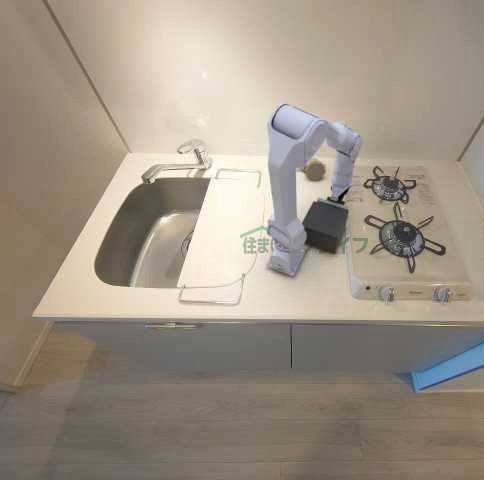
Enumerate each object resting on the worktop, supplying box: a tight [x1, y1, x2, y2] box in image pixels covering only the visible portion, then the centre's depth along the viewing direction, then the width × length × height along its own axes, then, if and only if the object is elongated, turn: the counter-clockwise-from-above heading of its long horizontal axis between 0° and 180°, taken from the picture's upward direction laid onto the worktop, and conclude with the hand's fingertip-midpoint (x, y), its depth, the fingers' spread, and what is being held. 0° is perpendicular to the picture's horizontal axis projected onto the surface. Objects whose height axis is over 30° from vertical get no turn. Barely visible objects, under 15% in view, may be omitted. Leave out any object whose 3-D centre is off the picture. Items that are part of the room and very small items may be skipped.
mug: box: [301, 157, 326, 181], centre depth 100 cm, size 8×10×10 cm
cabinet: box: [301, 200, 350, 255], centre depth 82 cm, size 11×12×9 cm
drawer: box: [316, 196, 350, 212], centre depth 85 cm, size 13×10×7 cm
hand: (338, 200), depth 90 cm, fingers closed
